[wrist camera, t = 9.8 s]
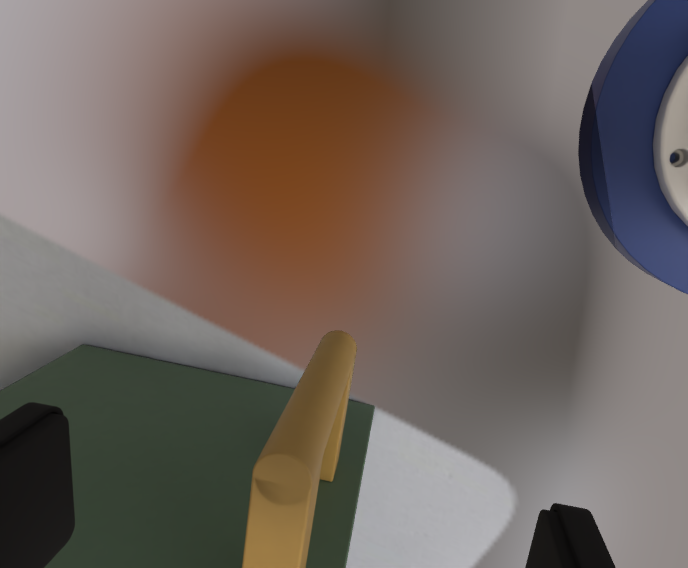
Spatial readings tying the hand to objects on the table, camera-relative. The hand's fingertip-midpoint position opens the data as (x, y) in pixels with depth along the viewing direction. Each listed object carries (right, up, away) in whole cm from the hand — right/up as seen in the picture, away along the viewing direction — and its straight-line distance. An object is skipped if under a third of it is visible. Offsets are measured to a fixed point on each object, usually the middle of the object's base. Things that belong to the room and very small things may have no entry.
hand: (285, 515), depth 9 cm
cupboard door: (-6, +2, +19) cm, 19 cm away
